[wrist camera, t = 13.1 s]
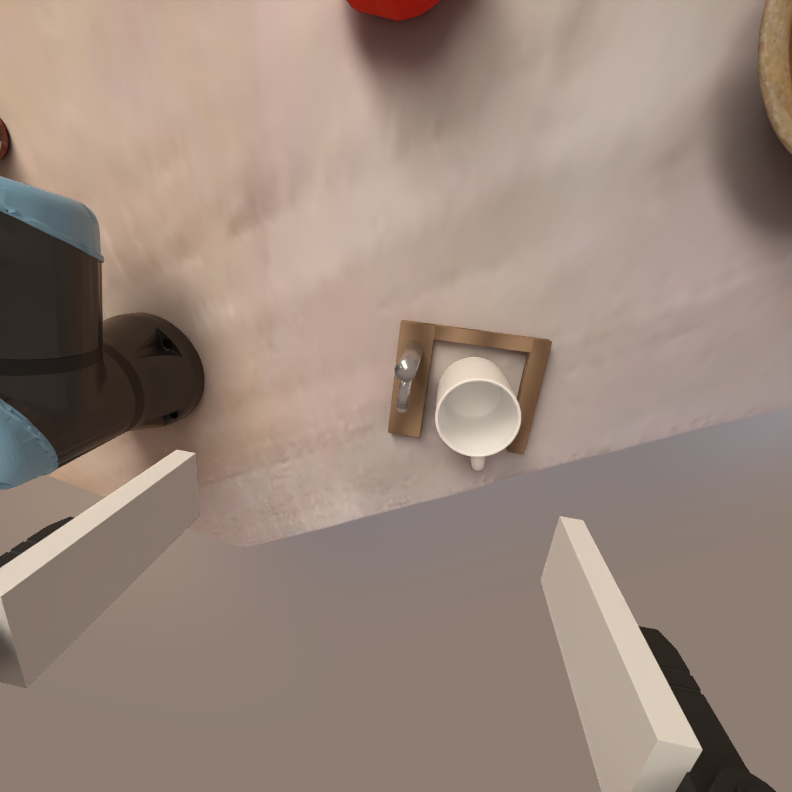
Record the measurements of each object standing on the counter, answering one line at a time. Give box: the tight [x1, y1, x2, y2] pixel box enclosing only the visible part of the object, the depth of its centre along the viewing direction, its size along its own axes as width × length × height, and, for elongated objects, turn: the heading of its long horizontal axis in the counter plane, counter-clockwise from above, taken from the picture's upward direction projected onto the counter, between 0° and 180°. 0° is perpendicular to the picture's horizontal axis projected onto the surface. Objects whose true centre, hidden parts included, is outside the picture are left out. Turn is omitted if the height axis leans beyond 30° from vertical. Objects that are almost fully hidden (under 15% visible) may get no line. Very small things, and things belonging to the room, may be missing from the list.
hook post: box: [395, 341, 423, 413], centre depth 41 cm, size 2×6×10 cm, turn 174°
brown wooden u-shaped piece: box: [388, 320, 552, 454], centre depth 47 cm, size 17×14×2 cm
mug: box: [435, 357, 521, 471], centre depth 43 cm, size 12×8×10 cm
